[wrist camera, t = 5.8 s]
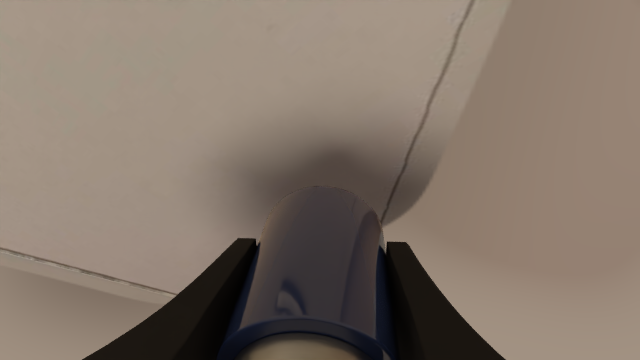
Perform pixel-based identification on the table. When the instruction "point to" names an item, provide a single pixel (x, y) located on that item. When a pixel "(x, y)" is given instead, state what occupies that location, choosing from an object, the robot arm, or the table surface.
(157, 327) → the robot arm
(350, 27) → the table surface
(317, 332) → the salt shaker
